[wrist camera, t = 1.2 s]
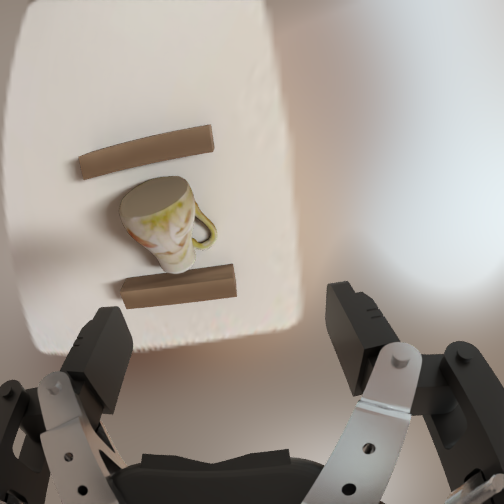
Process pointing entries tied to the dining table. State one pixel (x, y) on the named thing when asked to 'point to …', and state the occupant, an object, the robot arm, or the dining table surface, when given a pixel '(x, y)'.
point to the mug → (165, 221)
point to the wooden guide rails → (167, 284)
